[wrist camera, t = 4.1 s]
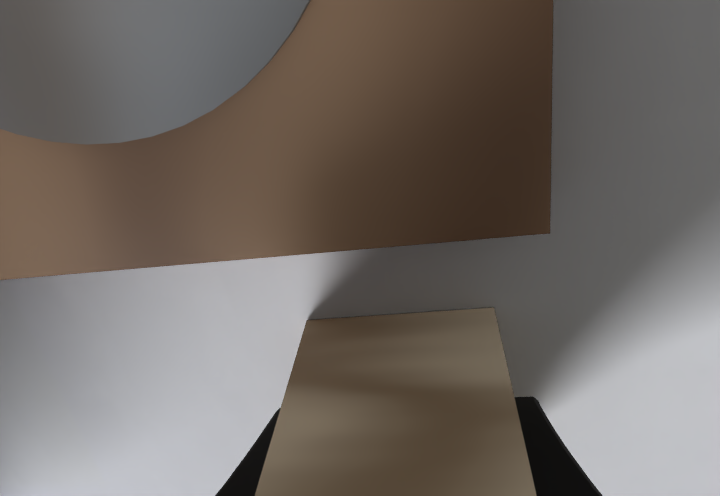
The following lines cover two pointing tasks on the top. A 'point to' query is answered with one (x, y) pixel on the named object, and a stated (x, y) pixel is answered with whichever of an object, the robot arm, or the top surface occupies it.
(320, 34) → the walnut base
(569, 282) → the top surface
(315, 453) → the maple block
